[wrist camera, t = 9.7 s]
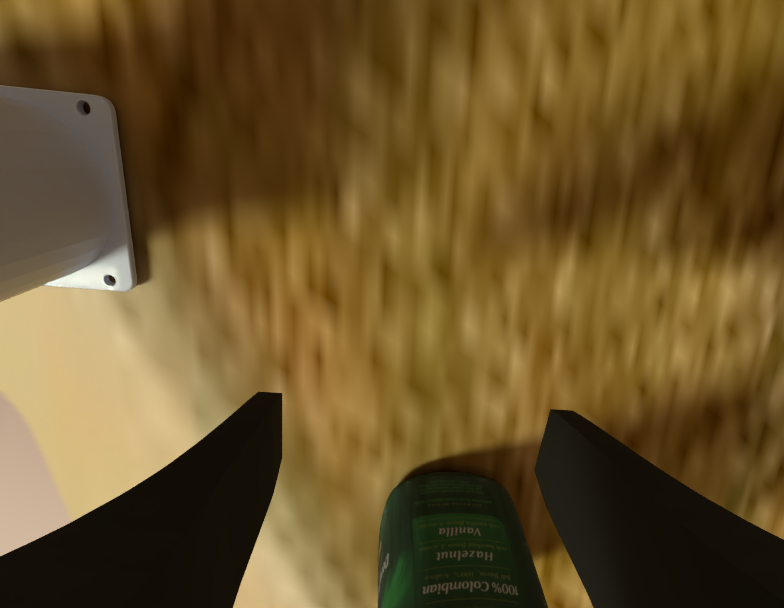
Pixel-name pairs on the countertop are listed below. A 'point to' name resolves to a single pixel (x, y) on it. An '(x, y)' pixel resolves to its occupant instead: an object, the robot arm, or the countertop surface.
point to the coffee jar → (454, 546)
